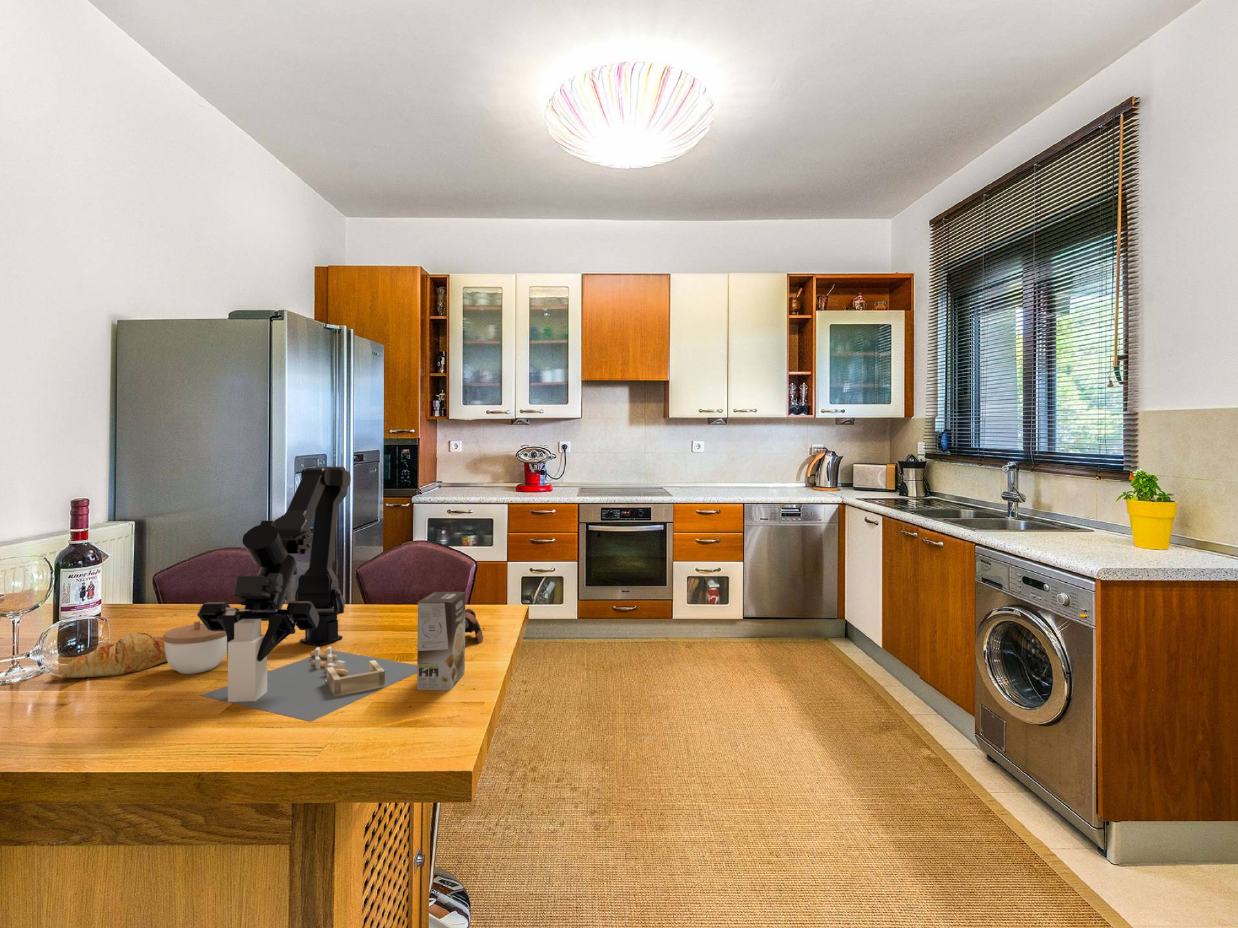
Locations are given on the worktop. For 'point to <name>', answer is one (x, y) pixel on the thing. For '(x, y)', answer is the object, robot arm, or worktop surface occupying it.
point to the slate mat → (315, 686)
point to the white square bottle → (246, 663)
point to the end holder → (356, 680)
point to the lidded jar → (194, 648)
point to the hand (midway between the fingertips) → (244, 660)
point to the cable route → (328, 661)
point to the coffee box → (441, 640)
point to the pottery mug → (472, 624)
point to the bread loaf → (118, 657)
